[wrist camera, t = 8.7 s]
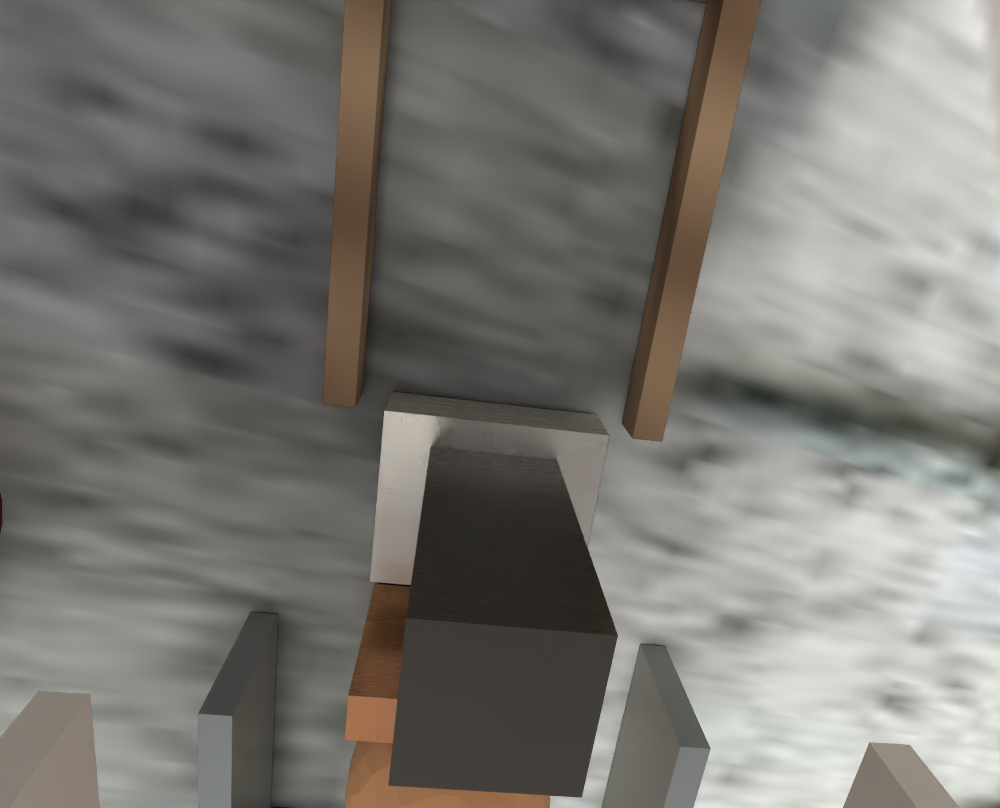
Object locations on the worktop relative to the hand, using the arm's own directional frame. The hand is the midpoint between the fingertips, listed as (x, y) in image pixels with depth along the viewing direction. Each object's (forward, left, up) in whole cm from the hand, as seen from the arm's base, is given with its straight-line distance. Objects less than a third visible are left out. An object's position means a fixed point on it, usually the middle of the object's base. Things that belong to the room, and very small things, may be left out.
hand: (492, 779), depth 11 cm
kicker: (+2, 0, -12) cm, 12 cm away
